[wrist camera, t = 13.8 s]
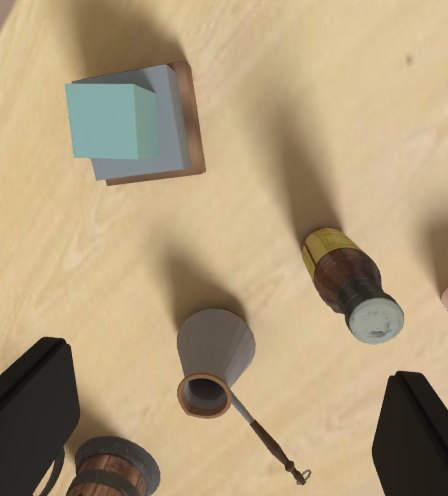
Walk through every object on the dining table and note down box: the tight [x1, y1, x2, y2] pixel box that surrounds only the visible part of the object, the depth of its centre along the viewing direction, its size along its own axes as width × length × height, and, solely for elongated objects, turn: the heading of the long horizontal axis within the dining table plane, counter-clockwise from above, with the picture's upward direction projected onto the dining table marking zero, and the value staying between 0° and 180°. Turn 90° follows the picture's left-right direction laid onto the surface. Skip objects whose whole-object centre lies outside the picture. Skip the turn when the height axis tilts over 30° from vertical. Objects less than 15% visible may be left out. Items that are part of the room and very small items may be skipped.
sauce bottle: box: [302, 228, 404, 344], centre depth 33 cm, size 7×6×20 cm
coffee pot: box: [177, 308, 311, 485], centre depth 42 cm, size 21×12×15 cm, turn 51°
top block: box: [72, 64, 191, 181], centre depth 35 cm, size 10×10×4 cm
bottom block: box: [82, 61, 206, 186], centre depth 39 cm, size 12×12×4 cm
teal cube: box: [65, 84, 159, 159], centre depth 30 cm, size 6×6×6 cm
